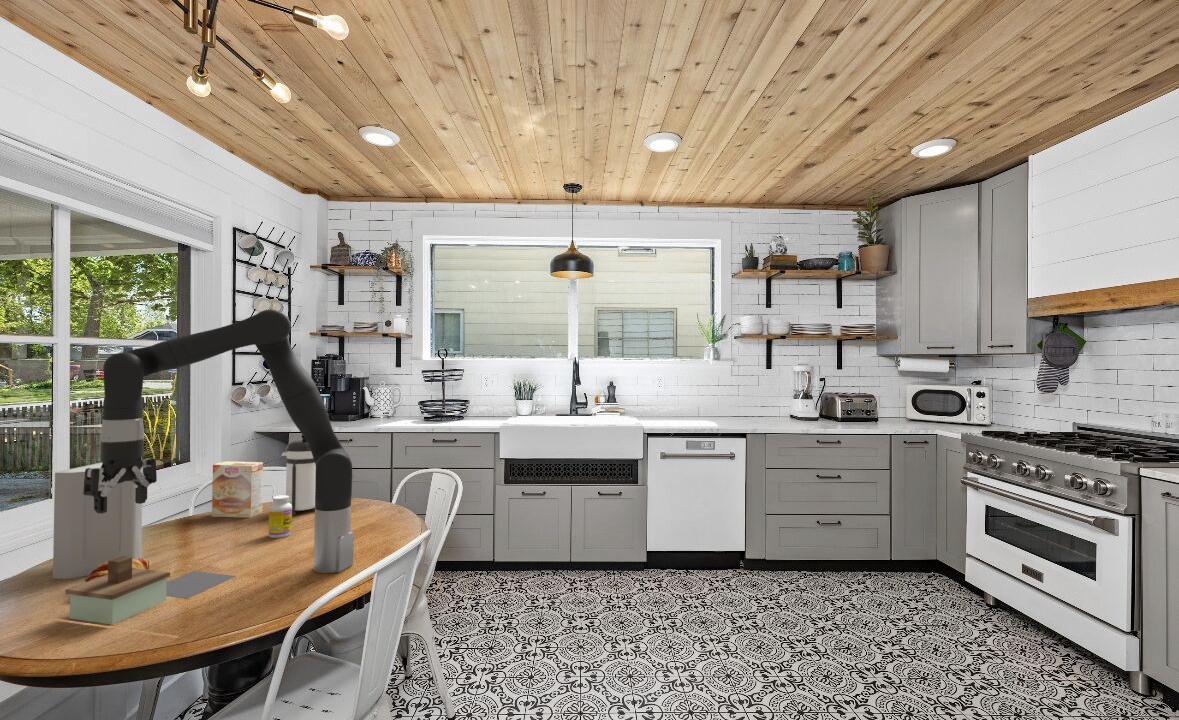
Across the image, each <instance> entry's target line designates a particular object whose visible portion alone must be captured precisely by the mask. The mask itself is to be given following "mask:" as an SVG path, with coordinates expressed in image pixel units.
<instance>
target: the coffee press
mask: <svg viewBox="0 0 1179 720" xmlns="http://www.w3.org/2000/svg"><path fill="white" fill-rule="evenodd" d="M301 438H302V439H296V440H292V441H290V442H289V443H288V444H287V446H286V447H285V450H284V451H283V452H282V454H281V457H285V463H286V467H285V471H286V473H285V476H286V477H285V478H286V479H285V495H287V496H289V501H288V503H290V504H291V505H292V517H294V516H296V513H297V512H299V511H306V510H307V511H308V510H312V509H314V510H315V475H316V465H315V461H314V458H313V455H312V452H311V450H310V447H309V445H308V443H307V441H306V439H305V437H304V436H303V434H302V433H301Z"/></svg>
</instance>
